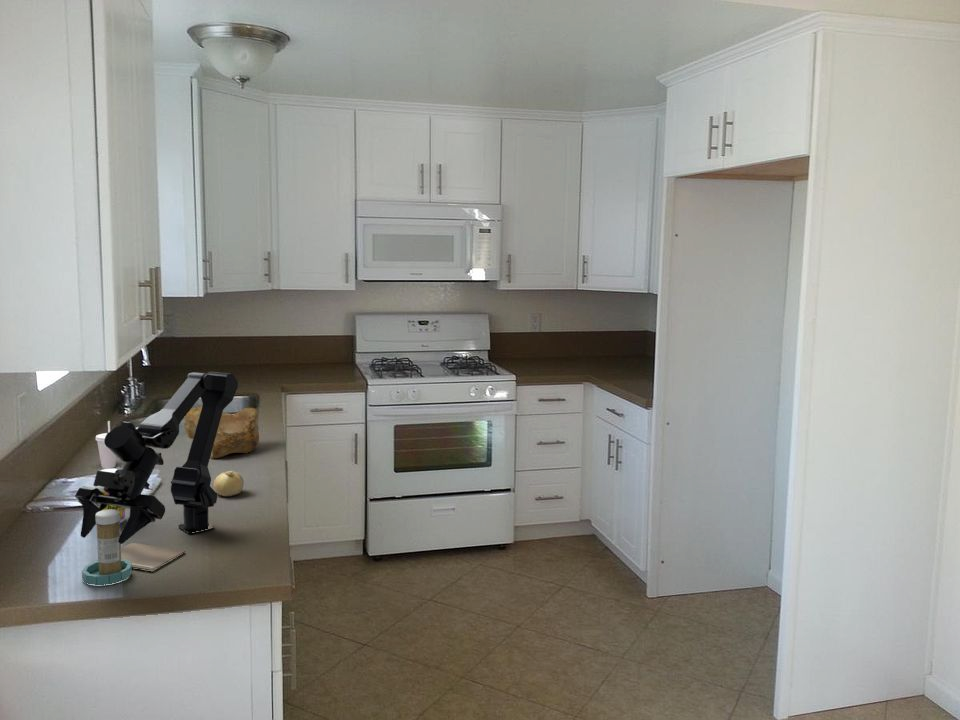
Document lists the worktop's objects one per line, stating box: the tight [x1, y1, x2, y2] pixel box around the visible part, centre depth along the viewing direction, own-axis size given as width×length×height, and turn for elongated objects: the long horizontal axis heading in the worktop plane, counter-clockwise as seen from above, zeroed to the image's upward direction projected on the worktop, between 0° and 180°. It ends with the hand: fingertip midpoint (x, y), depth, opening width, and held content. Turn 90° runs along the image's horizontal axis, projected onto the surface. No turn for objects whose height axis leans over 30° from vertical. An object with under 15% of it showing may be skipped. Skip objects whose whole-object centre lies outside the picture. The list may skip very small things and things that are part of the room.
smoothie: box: [95, 420, 117, 470], centre depth 244 cm, size 6×6×14 cm
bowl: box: [81, 559, 133, 585], centre depth 169 cm, size 9×9×2 cm
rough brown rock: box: [184, 406, 260, 460], centre depth 261 cm, size 23×17×15 cm
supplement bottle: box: [94, 468, 126, 525], centre depth 199 cm, size 7×7×13 cm
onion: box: [213, 470, 245, 497], centre depth 223 cm, size 8×8×7 cm
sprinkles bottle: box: [95, 509, 122, 575], centre depth 168 cm, size 5×5×13 cm
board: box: [96, 542, 186, 570], centre depth 179 cm, size 11×14×1 cm
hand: (101, 539), depth 167 cm, fingers open, 9 cm apart
